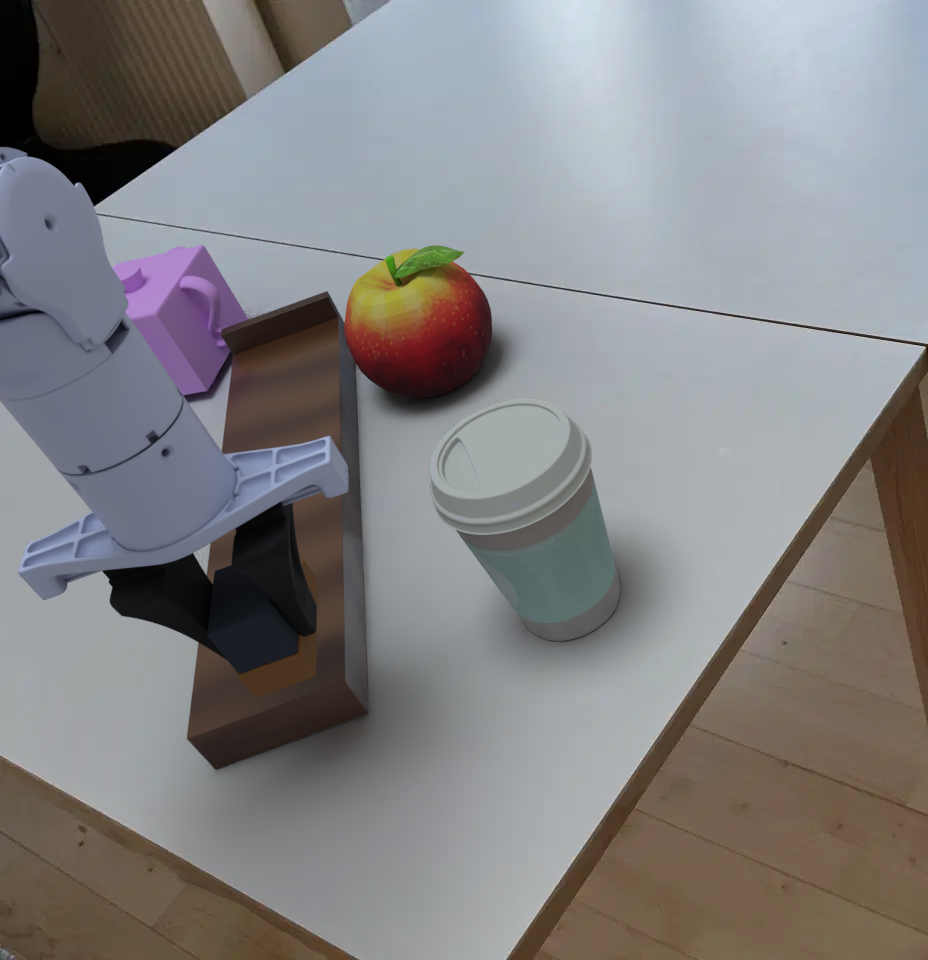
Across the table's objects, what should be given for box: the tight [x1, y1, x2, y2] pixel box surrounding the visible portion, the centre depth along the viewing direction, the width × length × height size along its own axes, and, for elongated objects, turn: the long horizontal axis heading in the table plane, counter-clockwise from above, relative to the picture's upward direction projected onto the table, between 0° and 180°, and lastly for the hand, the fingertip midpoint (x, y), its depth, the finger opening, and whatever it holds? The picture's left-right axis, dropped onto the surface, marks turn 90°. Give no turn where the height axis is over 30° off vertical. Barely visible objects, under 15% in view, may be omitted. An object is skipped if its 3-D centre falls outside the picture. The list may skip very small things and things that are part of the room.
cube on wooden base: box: [207, 558, 318, 698], centre depth 55 cm, size 7×3×5 cm, turn 13°
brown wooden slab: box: [186, 290, 370, 770], centre depth 74 cm, size 40×9×5 cm, turn 13°
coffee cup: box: [428, 397, 621, 642], centre depth 59 cm, size 8×8×12 cm
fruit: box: [344, 245, 493, 399], centre depth 81 cm, size 11×11×10 cm
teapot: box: [112, 244, 249, 396], centre depth 91 cm, size 18×14×10 cm
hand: (274, 633), depth 55 cm, fingers closed on cube on wooden base, 3 cm apart
